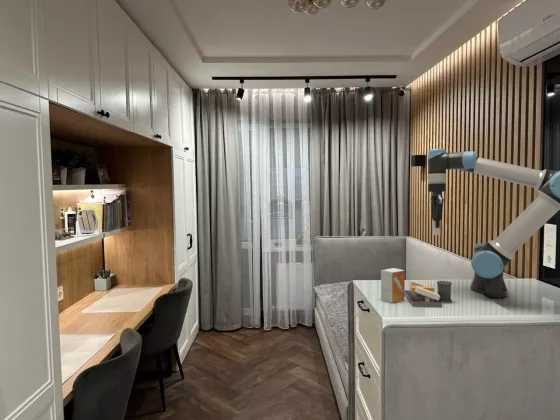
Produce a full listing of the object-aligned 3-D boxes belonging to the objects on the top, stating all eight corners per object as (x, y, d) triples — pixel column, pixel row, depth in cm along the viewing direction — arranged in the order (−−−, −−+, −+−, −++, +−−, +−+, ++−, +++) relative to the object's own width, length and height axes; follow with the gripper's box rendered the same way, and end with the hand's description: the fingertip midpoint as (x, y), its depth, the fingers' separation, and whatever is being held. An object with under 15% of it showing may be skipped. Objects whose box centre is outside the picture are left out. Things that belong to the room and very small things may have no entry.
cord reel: (449, 299, 160) (449, 280, 160) (453, 303, 155) (453, 284, 154) (435, 299, 161) (435, 280, 161) (439, 303, 156) (439, 283, 155)
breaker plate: (430, 295, 167) (430, 287, 167) (442, 307, 150) (442, 298, 149) (404, 294, 169) (404, 286, 169) (413, 306, 151) (412, 297, 151)
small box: (392, 303, 156) (392, 272, 155) (380, 300, 161) (380, 269, 161) (405, 300, 160) (405, 269, 160) (393, 297, 166) (393, 267, 165)
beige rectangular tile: (436, 298, 154) (437, 293, 154) (438, 300, 151) (440, 296, 151) (414, 290, 155) (416, 286, 155) (416, 292, 152) (418, 288, 152)
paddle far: (428, 290, 166) (430, 286, 166) (430, 292, 163) (432, 288, 163) (408, 283, 167) (410, 279, 167) (410, 285, 164) (411, 281, 164)
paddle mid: (432, 290, 160) (432, 286, 160) (434, 292, 157) (434, 288, 157) (410, 290, 161) (410, 285, 161) (411, 292, 158) (411, 287, 158)
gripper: (424, 183, 178) (424, 233, 179) (432, 182, 165) (432, 236, 166) (441, 183, 177) (441, 233, 178) (450, 182, 164) (449, 236, 165)
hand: (436, 234), depth 172 cm, fingers closed
